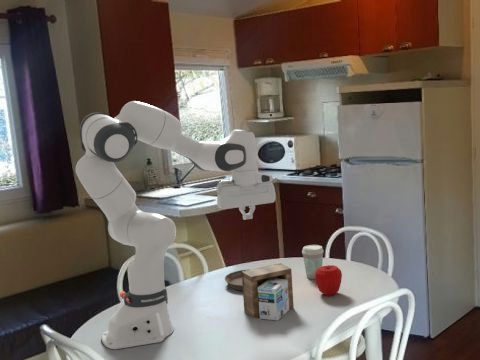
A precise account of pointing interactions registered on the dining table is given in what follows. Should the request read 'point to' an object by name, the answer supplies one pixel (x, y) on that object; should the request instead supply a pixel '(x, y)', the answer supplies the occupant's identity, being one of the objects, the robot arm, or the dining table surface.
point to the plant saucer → (235, 279)
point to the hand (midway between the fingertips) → (247, 219)
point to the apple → (328, 279)
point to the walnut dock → (257, 278)
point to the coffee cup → (312, 259)
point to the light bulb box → (273, 299)
